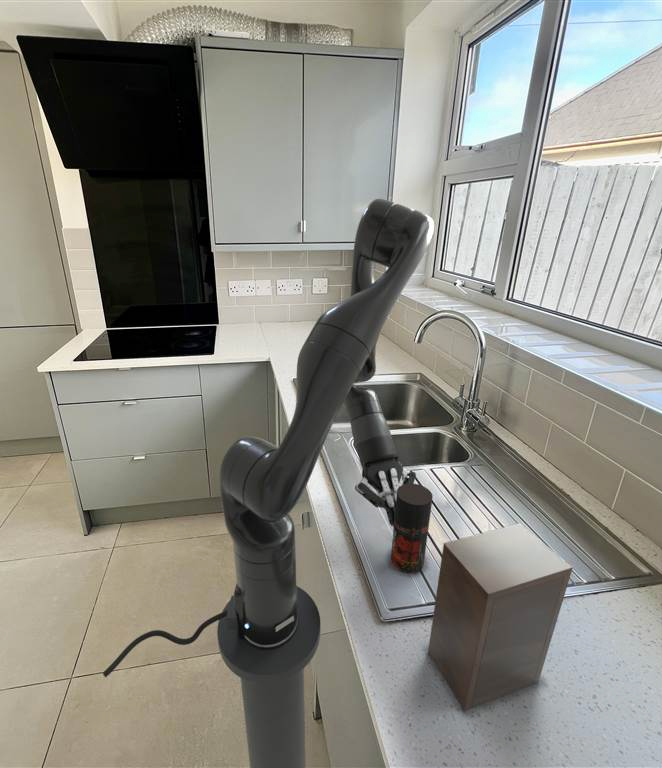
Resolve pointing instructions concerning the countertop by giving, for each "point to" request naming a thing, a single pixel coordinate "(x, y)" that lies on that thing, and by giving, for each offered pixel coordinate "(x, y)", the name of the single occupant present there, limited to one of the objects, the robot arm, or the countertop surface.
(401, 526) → the deodorant
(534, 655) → the tall brown cuboid
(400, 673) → the countertop surface
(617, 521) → the countertop surface
